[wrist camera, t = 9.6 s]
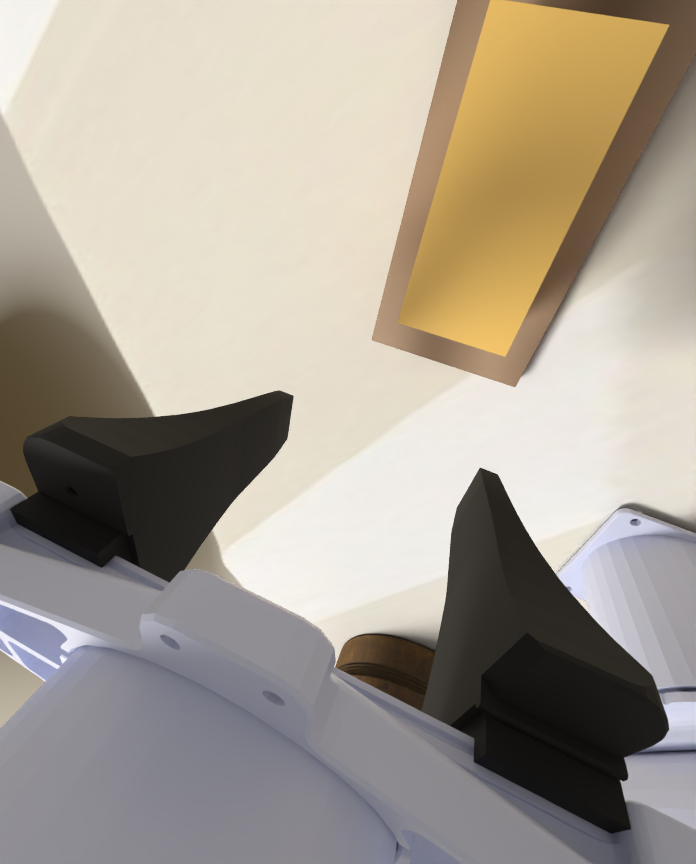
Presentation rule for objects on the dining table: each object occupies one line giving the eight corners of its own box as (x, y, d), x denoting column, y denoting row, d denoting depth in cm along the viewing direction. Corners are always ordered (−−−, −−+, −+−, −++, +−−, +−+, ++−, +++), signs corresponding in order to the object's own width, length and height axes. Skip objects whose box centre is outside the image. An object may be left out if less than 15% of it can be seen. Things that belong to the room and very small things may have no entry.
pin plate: (721, -9, 11) (798, -86, 8) (514, 380, 19) (517, 408, 16) (473, -42, 13) (467, -117, 10) (376, 335, 20) (357, 354, 18)
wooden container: (326, 621, 38) (182, 973, 20) (471, 649, 32) (445, 1180, 14) (356, 696, 45) (266, 1012, 27) (481, 731, 39) (472, 1165, 21)
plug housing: (622, 75, 12) (669, 25, 9) (503, 330, 17) (505, 357, 14) (491, 53, 13) (490, -2, 10) (414, 303, 18) (397, 322, 15)
